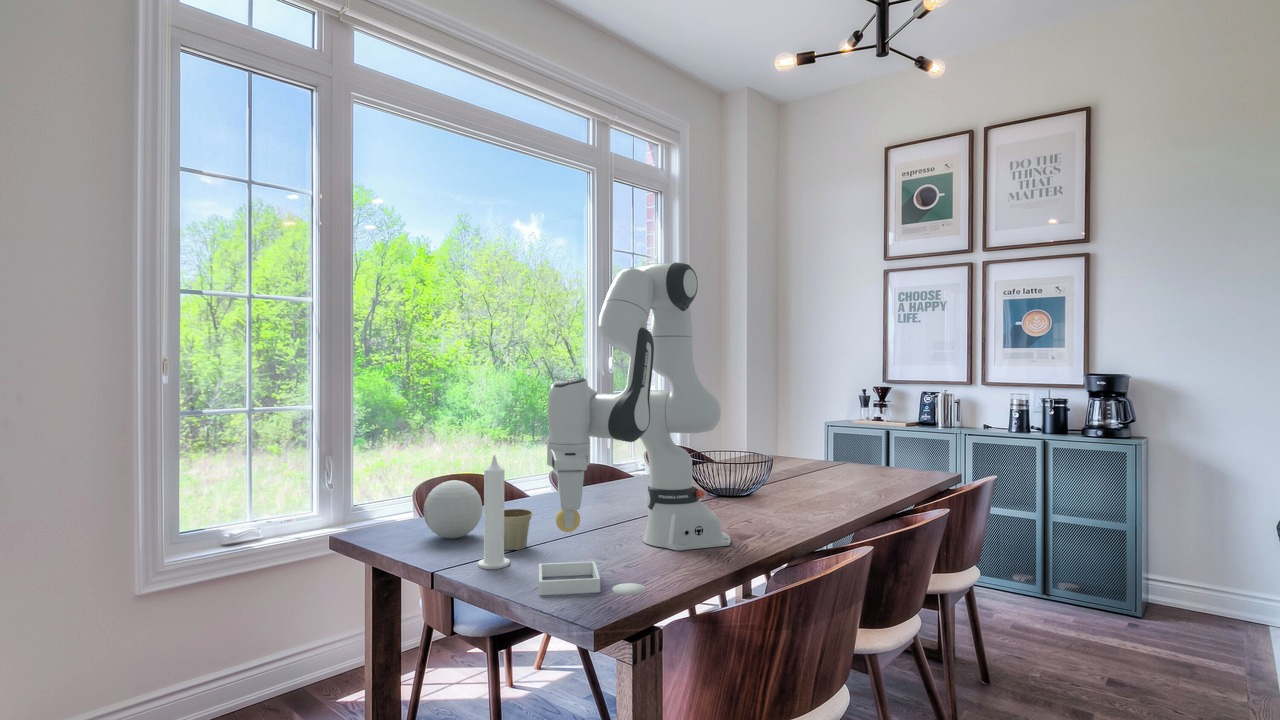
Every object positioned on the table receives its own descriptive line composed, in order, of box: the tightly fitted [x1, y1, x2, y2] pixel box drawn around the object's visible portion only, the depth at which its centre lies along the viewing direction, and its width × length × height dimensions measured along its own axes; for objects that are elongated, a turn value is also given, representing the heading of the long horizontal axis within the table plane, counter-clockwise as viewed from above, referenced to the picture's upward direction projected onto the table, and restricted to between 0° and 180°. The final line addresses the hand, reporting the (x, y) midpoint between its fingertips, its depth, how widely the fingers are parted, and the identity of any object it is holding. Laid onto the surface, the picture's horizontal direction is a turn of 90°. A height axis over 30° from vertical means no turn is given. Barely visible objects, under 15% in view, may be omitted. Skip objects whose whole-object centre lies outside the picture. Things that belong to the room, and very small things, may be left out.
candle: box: [477, 454, 511, 570], centre depth 152 cm, size 7×7×25 cm
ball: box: [555, 508, 581, 533], centre depth 137 cm, size 5×5×5 cm
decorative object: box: [423, 479, 483, 539], centre depth 176 cm, size 15×15×15 cm
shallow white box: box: [538, 560, 601, 596], centre depth 137 cm, size 12×12×3 cm
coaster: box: [611, 582, 647, 596], centre depth 134 cm, size 7×7×1 cm
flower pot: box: [504, 508, 534, 551], centre depth 166 cm, size 9×9×9 cm
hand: (568, 523), depth 137 cm, fingers closed on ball, 5 cm apart
